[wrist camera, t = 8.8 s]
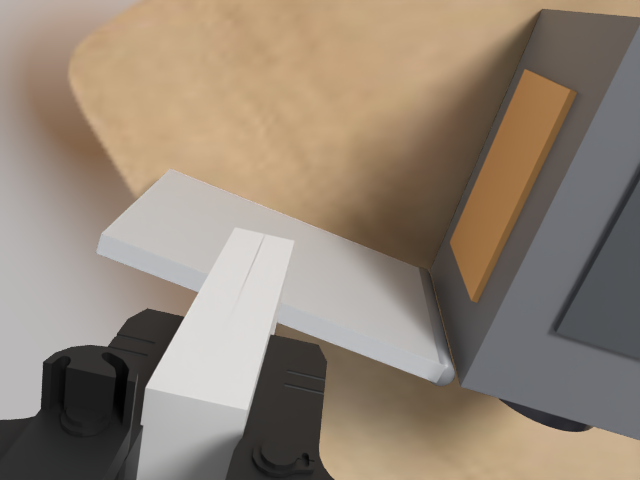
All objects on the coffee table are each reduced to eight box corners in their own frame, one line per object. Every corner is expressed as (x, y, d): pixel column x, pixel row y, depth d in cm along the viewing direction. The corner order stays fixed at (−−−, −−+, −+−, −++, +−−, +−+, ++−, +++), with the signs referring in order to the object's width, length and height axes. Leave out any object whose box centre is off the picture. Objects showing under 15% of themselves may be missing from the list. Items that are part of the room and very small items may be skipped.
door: (433, 272, 36) (459, 369, 27) (419, 297, 37) (440, 400, 27) (170, 167, 34) (101, 231, 25) (161, 195, 35) (91, 269, 26)
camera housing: (592, 350, 39) (694, 506, 27) (414, 295, 38) (439, 431, 26) (750, 80, 32) (978, 131, 20) (536, 6, 31) (645, 16, 19)
